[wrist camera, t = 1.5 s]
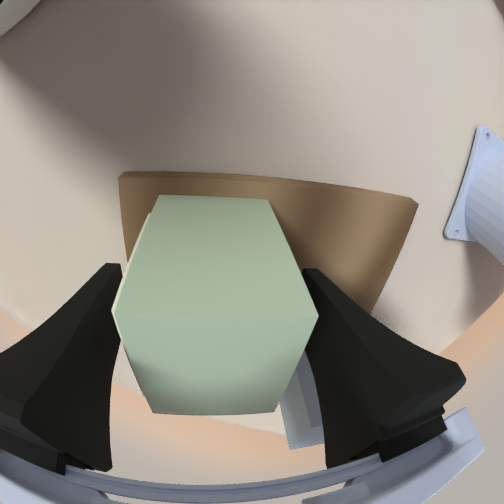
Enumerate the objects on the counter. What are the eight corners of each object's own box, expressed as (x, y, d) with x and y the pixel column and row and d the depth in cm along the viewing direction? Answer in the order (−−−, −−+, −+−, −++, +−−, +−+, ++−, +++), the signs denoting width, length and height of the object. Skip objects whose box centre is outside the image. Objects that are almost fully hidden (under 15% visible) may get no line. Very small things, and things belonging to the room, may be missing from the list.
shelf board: (410, 197, 13) (441, 222, 11) (328, 370, 22) (337, 396, 19) (123, 171, 10) (101, 196, 8) (158, 376, 19) (156, 407, 17)
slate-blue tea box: (360, 326, 17) (397, 405, 12) (337, 364, 20) (362, 433, 15) (285, 332, 16) (311, 427, 11) (271, 371, 19) (288, 450, 14)
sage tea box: (251, 297, 14) (274, 411, 9) (159, 295, 13) (145, 412, 8) (267, 199, 11) (318, 315, 6) (152, 194, 10) (102, 312, 5)
